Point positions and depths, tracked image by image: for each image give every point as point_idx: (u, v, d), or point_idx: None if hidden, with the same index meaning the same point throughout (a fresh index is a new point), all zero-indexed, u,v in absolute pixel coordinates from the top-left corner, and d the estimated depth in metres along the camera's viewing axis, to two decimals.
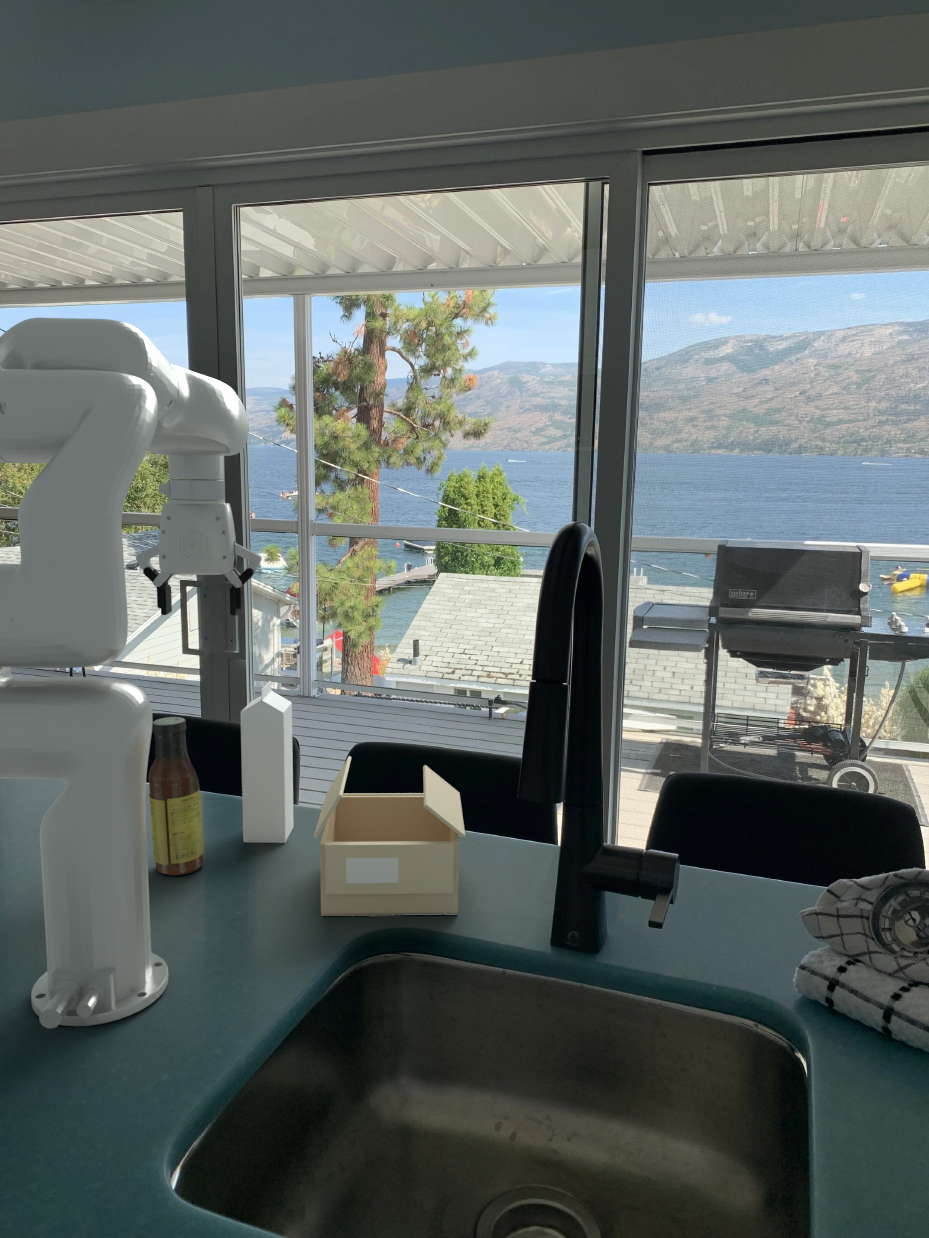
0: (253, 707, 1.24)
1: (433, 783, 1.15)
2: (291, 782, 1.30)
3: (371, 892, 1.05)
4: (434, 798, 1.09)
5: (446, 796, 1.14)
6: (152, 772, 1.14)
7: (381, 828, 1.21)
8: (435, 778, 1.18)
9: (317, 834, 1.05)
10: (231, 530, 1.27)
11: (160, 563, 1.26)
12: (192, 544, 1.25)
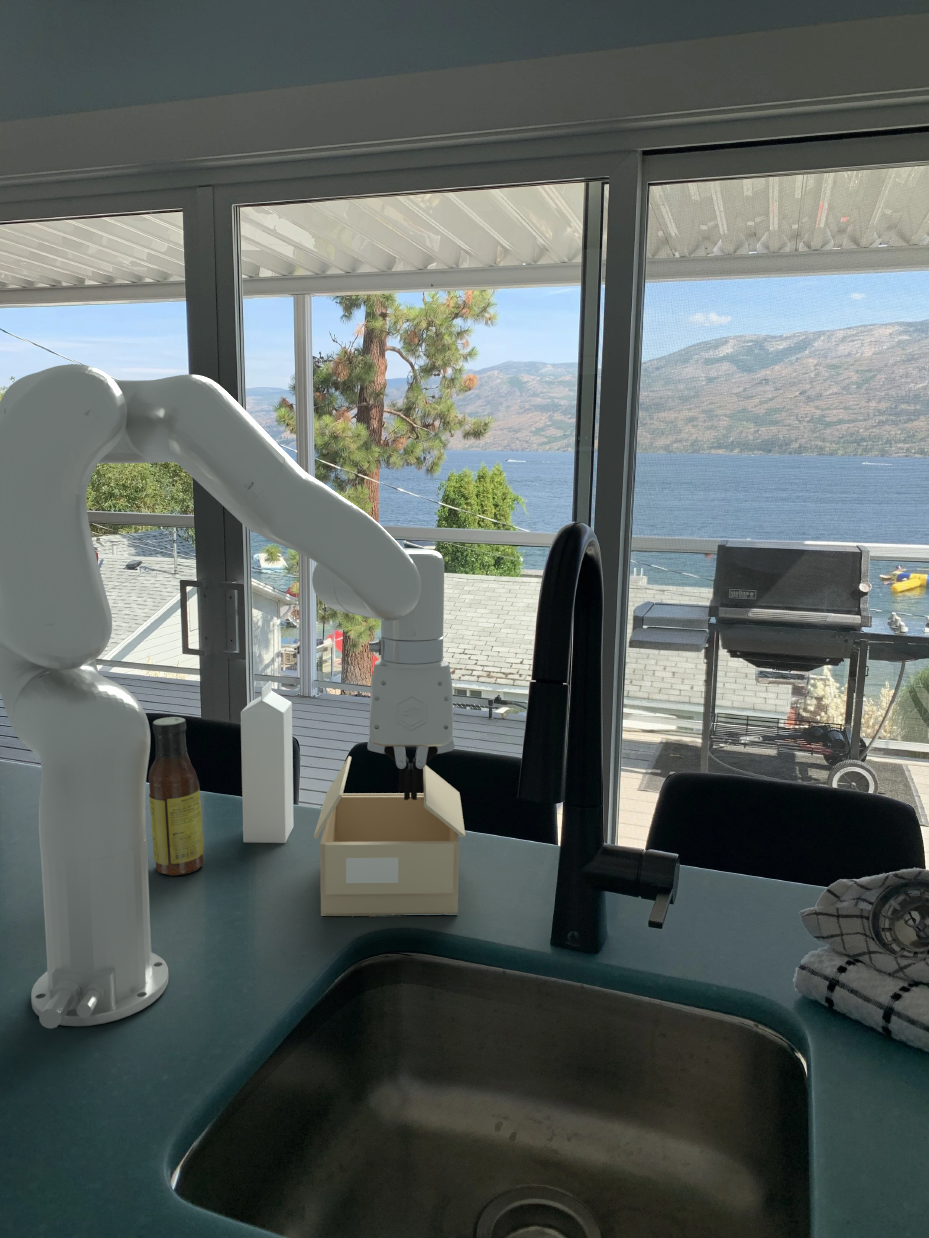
0: (253, 707, 1.24)
1: (433, 783, 1.15)
2: (291, 782, 1.30)
3: (371, 892, 1.05)
4: (434, 798, 1.09)
5: (446, 796, 1.14)
6: (152, 772, 1.14)
7: (381, 828, 1.21)
8: (435, 778, 1.18)
9: (317, 834, 1.05)
10: (452, 694, 1.09)
11: (371, 734, 1.08)
12: (409, 713, 1.08)
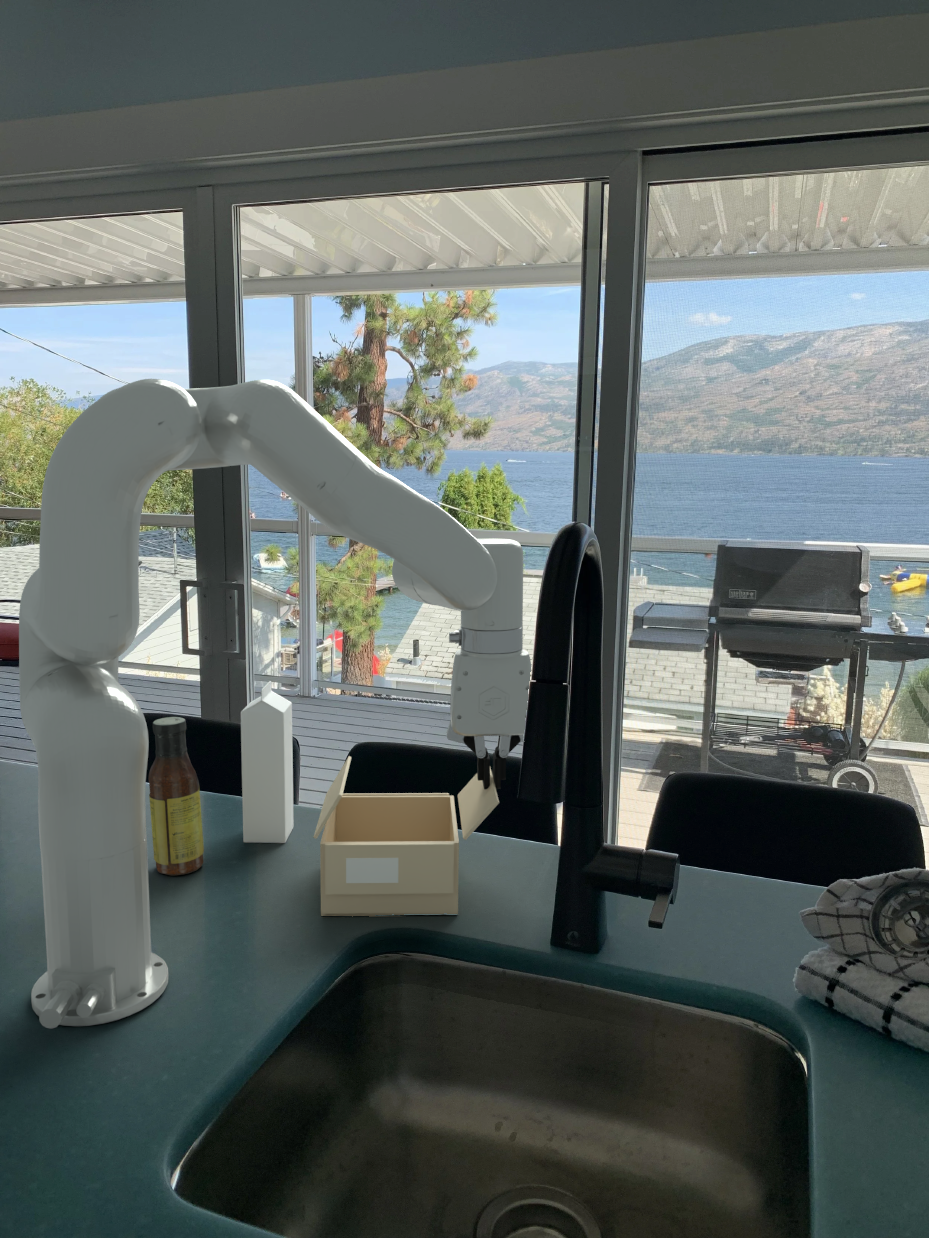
0: (253, 707, 1.24)
1: None
2: (291, 782, 1.30)
3: (371, 892, 1.05)
4: None
5: None
6: (152, 772, 1.14)
7: (381, 828, 1.21)
8: None
9: (317, 834, 1.05)
10: None
11: (454, 724, 1.09)
12: (492, 702, 1.08)
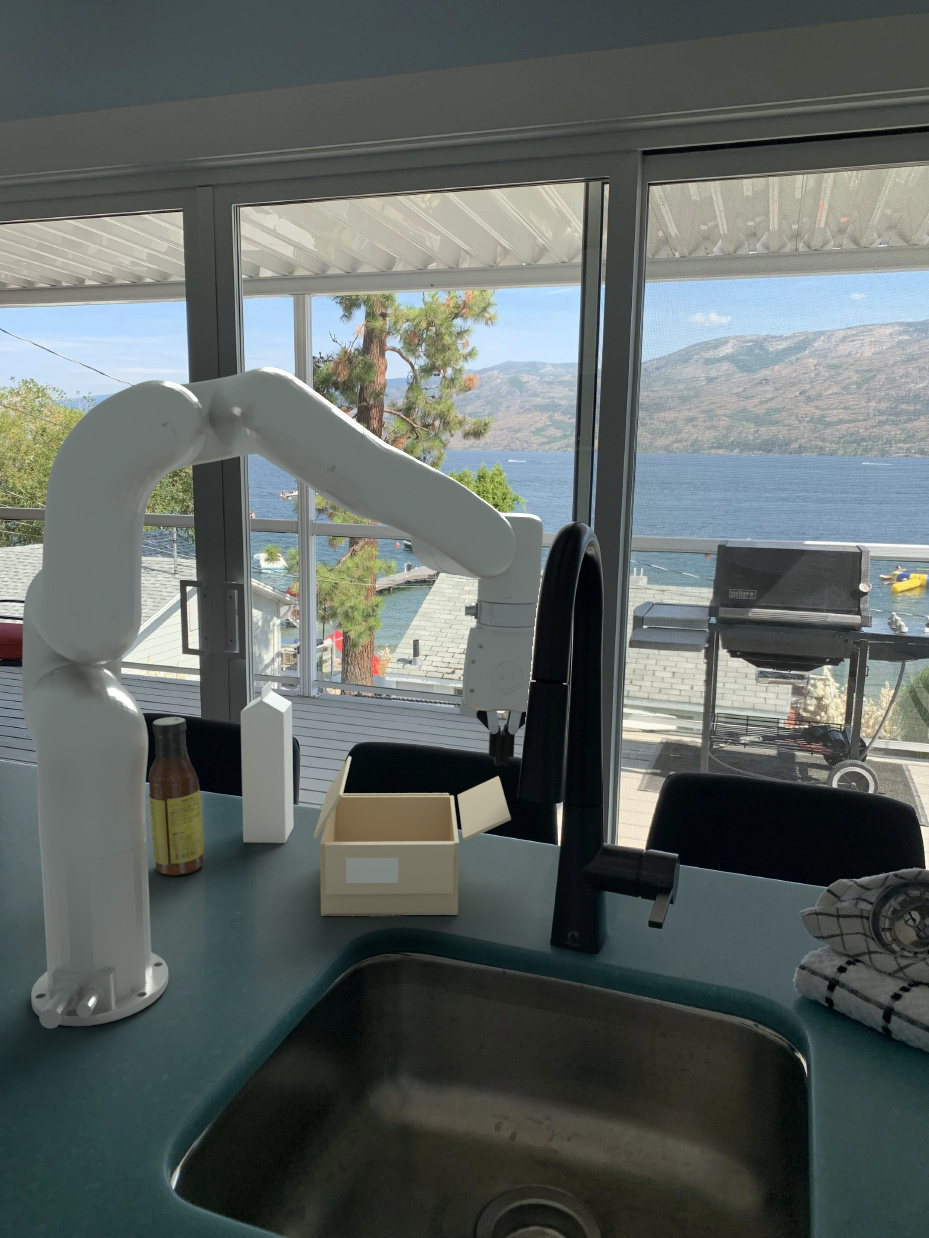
0: (253, 707, 1.24)
1: None
2: (291, 782, 1.30)
3: (371, 892, 1.05)
4: None
5: None
6: (152, 772, 1.14)
7: (381, 828, 1.21)
8: None
9: (317, 834, 1.05)
10: None
11: (466, 697, 1.08)
12: (505, 677, 1.08)
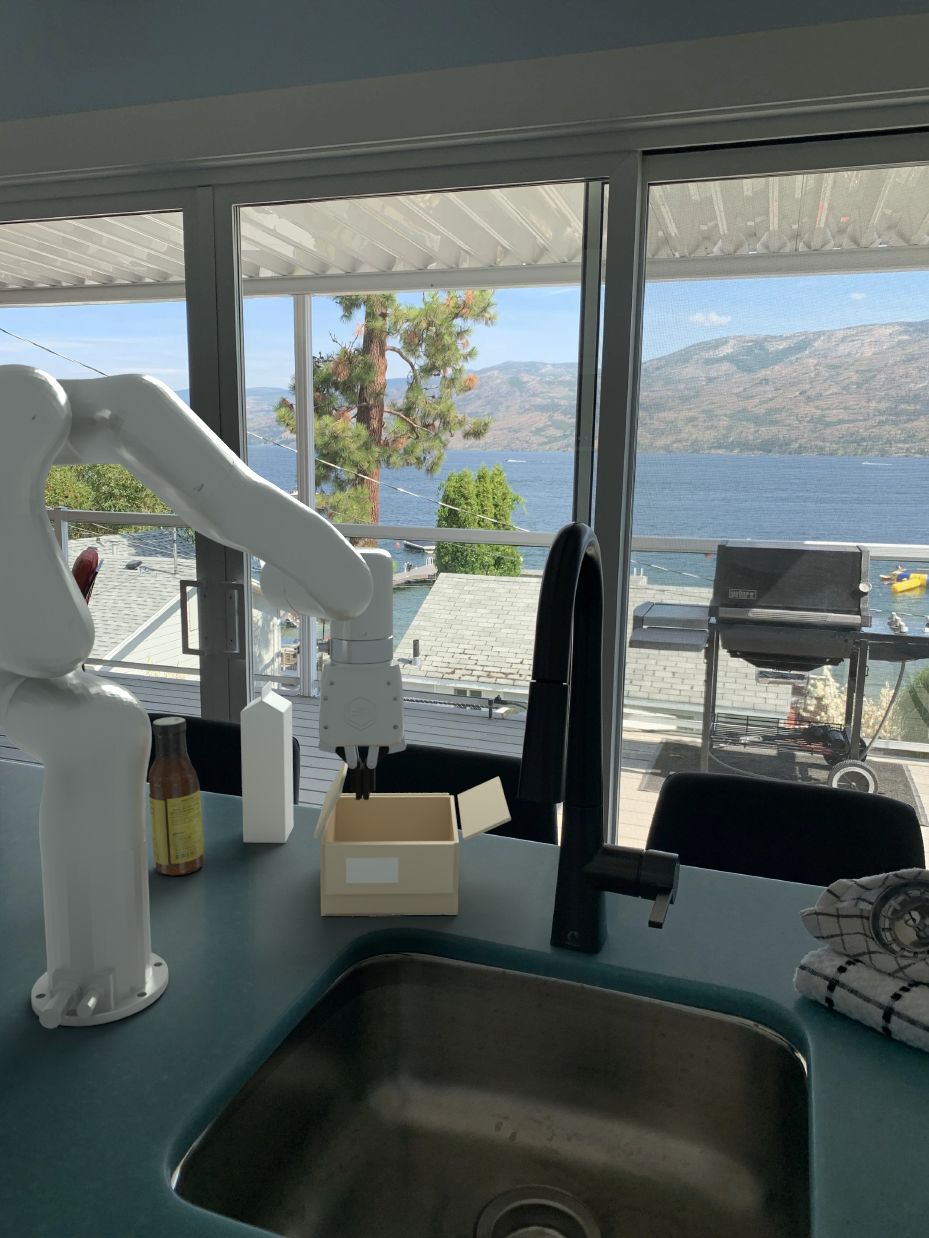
0: (253, 707, 1.24)
1: None
2: (291, 782, 1.30)
3: (371, 892, 1.05)
4: None
5: None
6: (152, 772, 1.14)
7: (381, 828, 1.21)
8: None
9: (317, 834, 1.05)
10: (402, 694, 1.09)
11: (321, 734, 1.08)
12: (358, 713, 1.07)
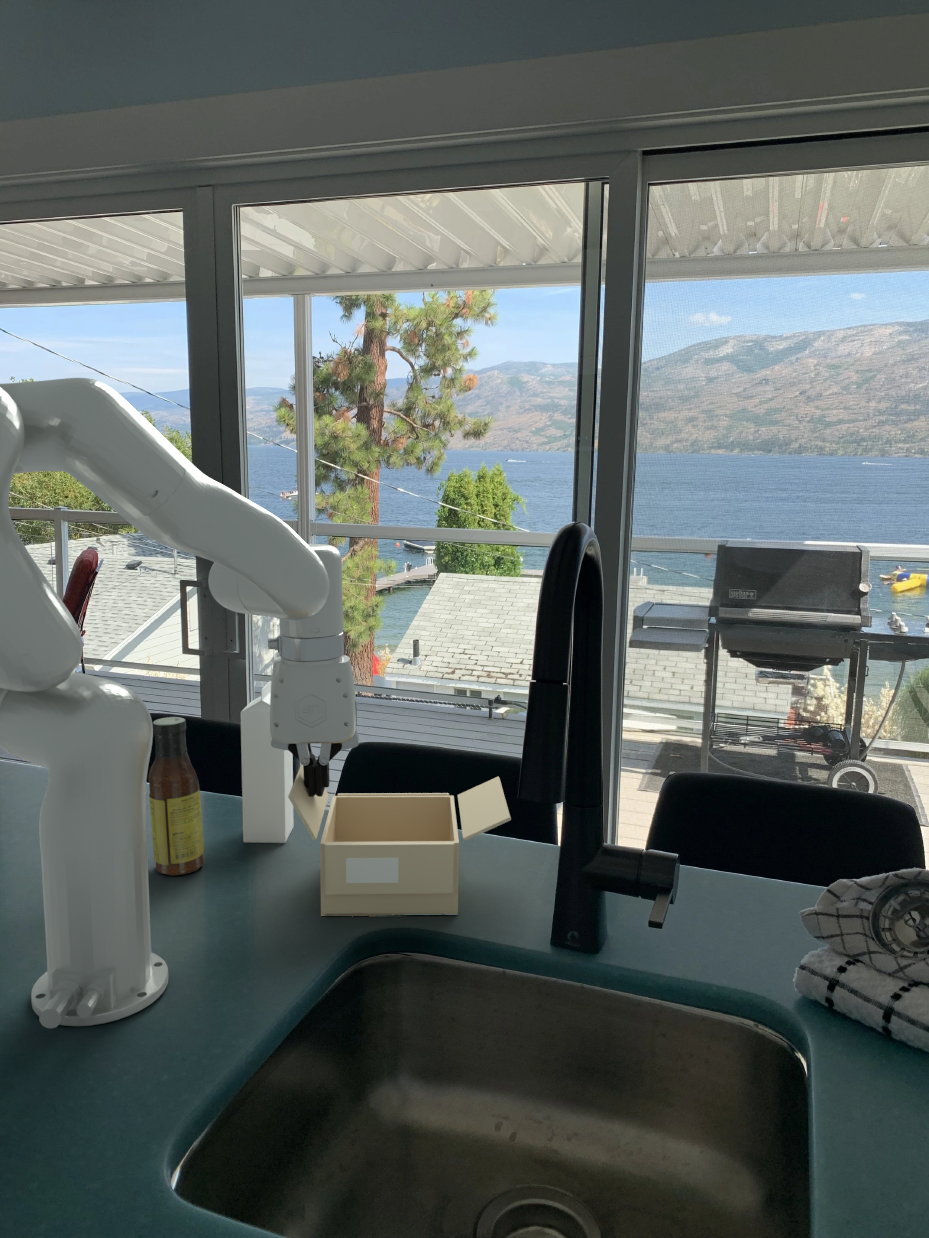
0: (253, 707, 1.24)
1: None
2: (291, 782, 1.30)
3: (371, 892, 1.05)
4: None
5: None
6: (152, 772, 1.14)
7: (381, 828, 1.21)
8: None
9: (312, 835, 1.05)
10: (352, 691, 1.08)
11: (272, 731, 1.08)
12: (309, 710, 1.07)
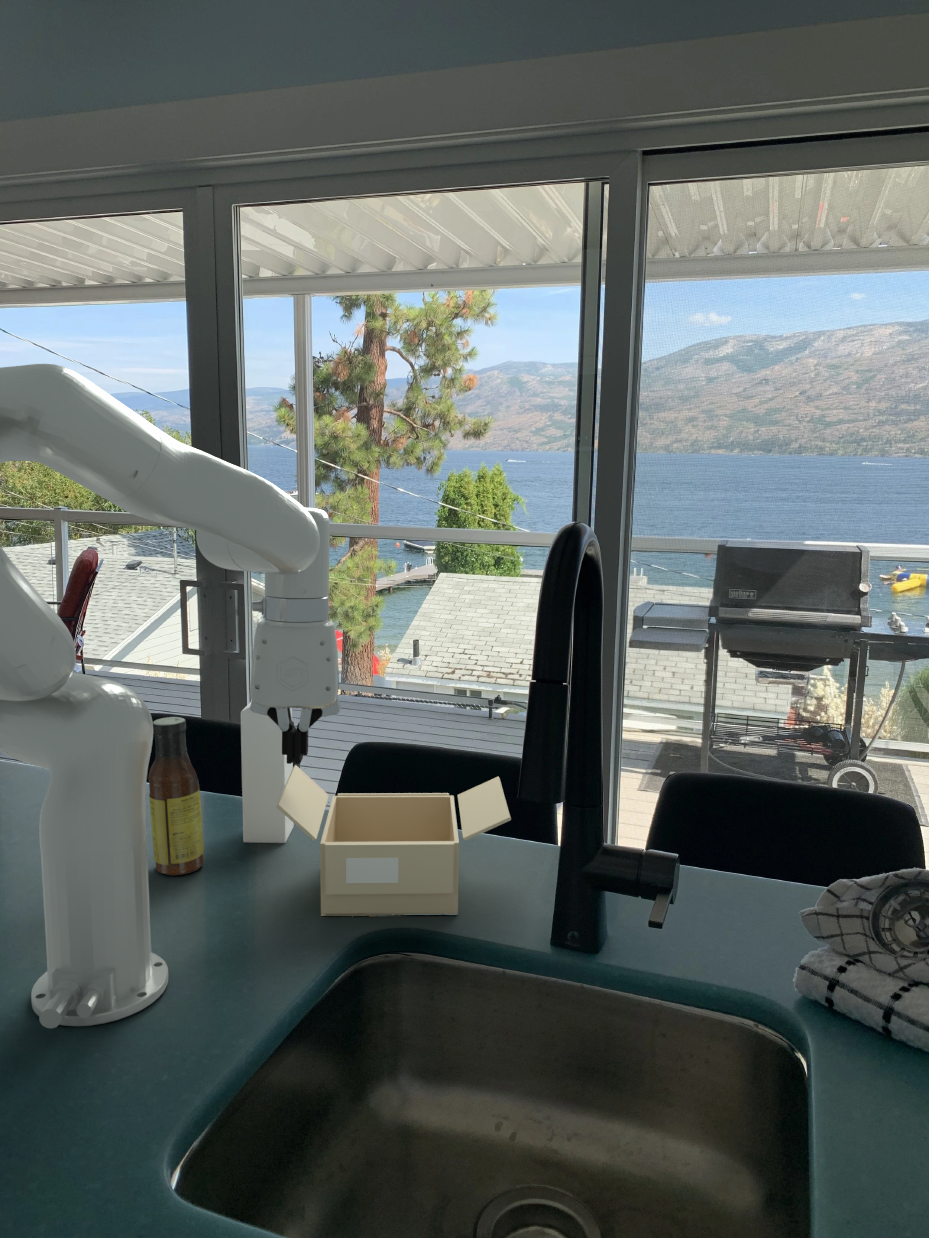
0: None
1: None
2: None
3: (371, 892, 1.05)
4: None
5: None
6: (152, 772, 1.14)
7: (381, 828, 1.21)
8: None
9: (312, 836, 1.05)
10: (336, 655, 1.07)
11: (252, 694, 1.06)
12: (291, 673, 1.06)
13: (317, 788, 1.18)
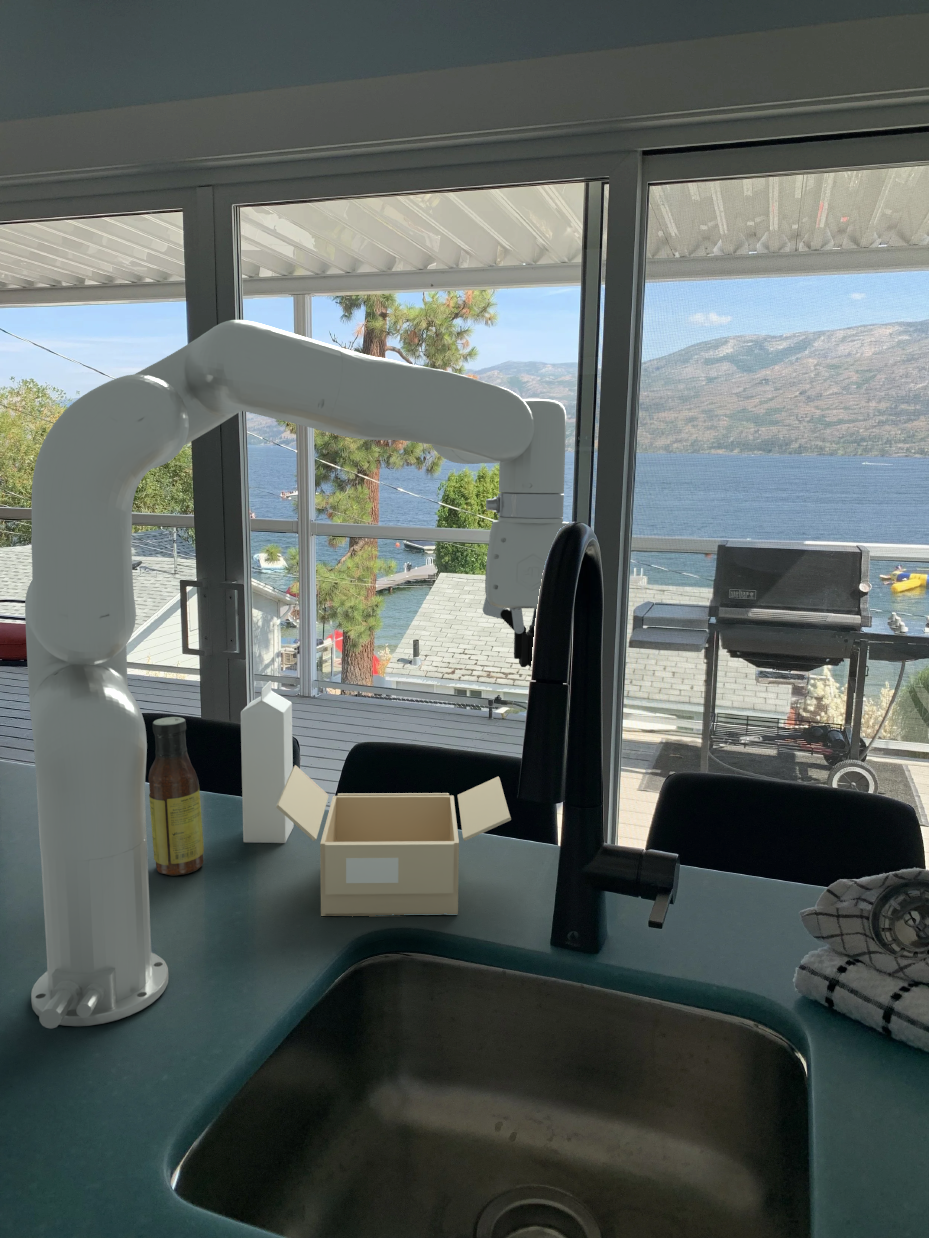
0: (253, 707, 1.24)
1: None
2: None
3: (371, 892, 1.05)
4: None
5: None
6: (152, 772, 1.14)
7: (381, 828, 1.21)
8: None
9: (312, 836, 1.05)
10: None
11: (490, 594, 1.03)
12: (530, 572, 1.03)
13: (317, 788, 1.18)
